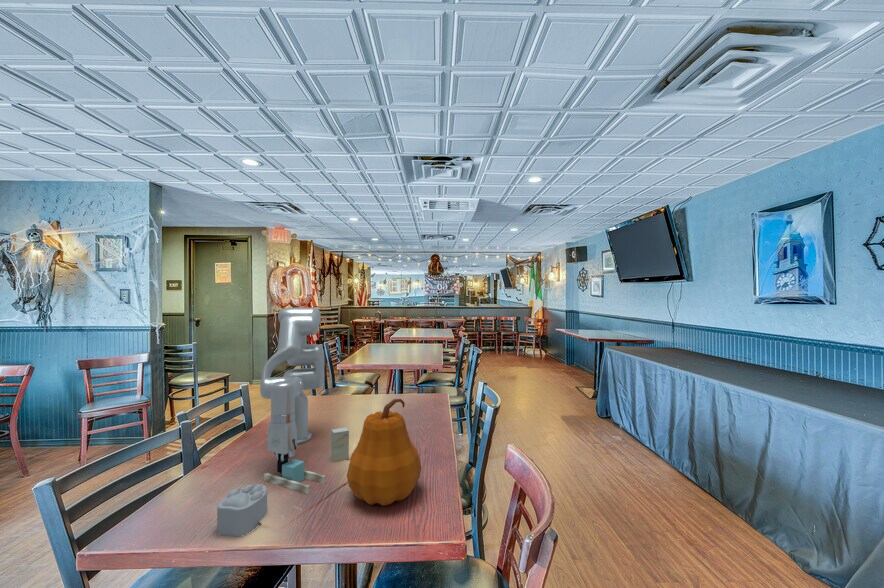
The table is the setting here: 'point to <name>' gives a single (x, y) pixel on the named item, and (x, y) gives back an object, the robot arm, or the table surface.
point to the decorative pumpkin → (384, 459)
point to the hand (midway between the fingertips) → (282, 470)
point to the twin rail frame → (293, 484)
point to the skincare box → (339, 444)
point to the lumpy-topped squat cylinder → (242, 510)
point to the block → (293, 470)
